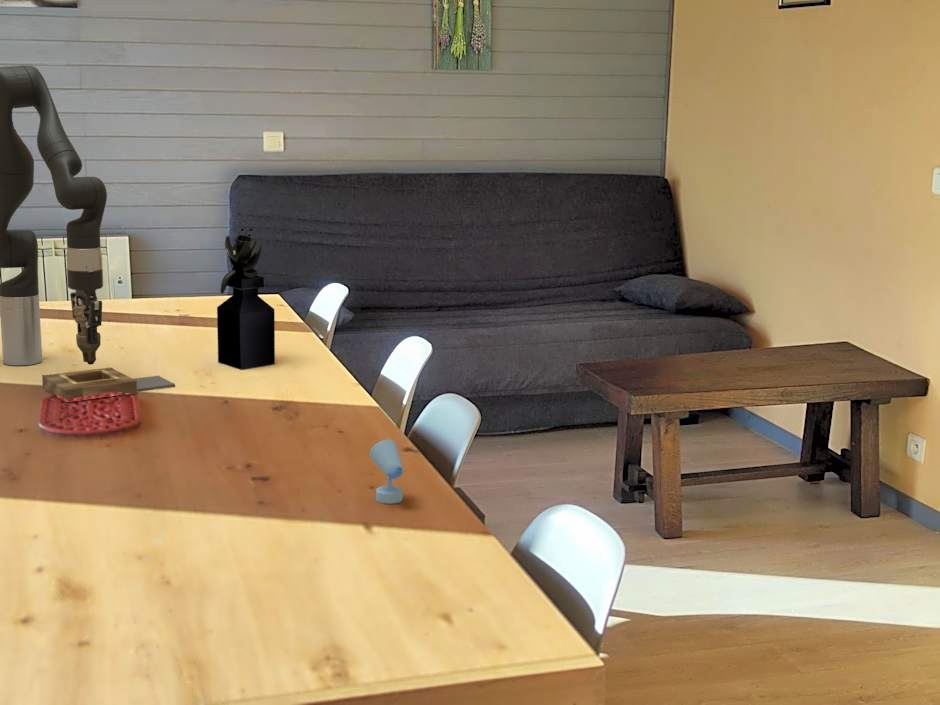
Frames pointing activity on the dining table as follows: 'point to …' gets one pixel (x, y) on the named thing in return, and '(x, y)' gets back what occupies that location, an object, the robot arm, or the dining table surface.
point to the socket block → (88, 383)
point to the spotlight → (388, 470)
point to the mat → (152, 383)
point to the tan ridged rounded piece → (85, 338)
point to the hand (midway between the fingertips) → (87, 340)
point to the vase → (245, 312)
